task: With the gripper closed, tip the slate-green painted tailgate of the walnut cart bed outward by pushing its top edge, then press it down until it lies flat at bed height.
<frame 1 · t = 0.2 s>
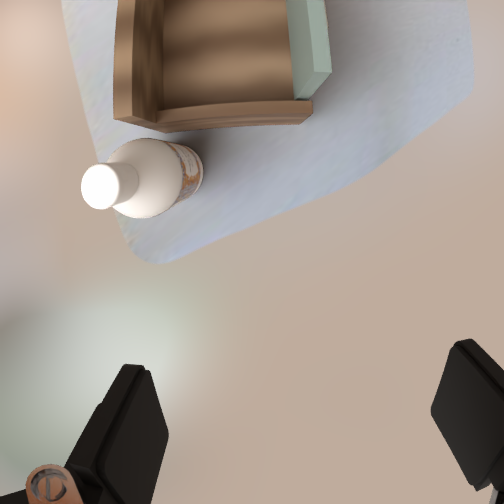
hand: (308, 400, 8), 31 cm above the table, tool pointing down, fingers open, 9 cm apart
bath foam: (176, 172, 37), on the table
tailgate: (305, 14, 21), point 12 cm above the table, hinge at 0.0°
cart bed: (228, 57, 33), on the table
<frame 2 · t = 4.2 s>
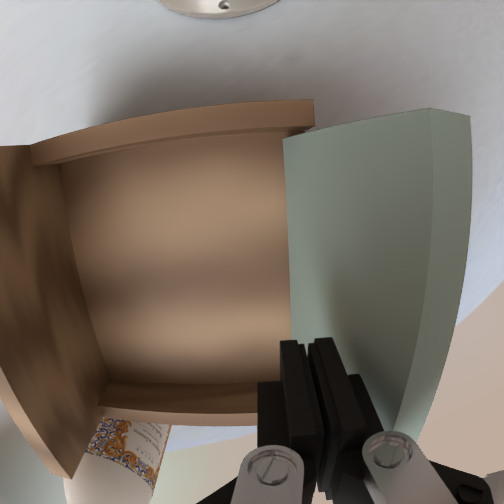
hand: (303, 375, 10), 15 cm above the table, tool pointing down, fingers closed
bath foam: (145, 389, 28), on the table
tailgate: (346, 321, 12), point 12 cm above the table, hinge at 9.5°, touching gripper
cart bed: (190, 251, 24), on the table
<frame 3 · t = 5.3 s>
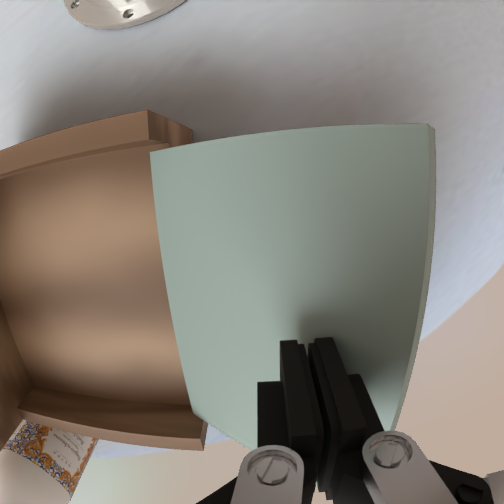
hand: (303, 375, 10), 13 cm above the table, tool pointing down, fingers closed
bath foam: (82, 396, 27), on the table
tailgate: (271, 334, 12), point 10 cm above the table, hinge at 49.8°, touching gripper
cart bed: (102, 266, 22), on the table
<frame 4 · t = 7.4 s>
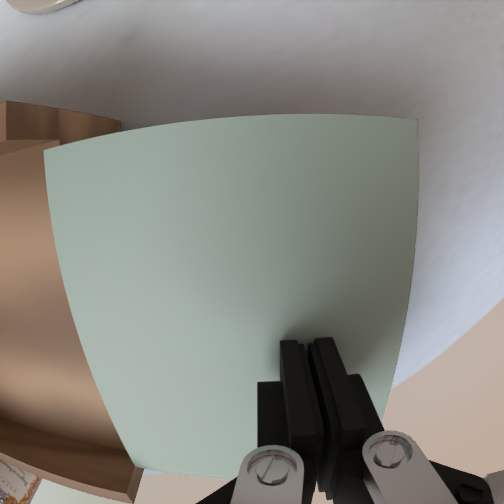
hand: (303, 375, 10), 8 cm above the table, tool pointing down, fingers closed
bath foam: (36, 415, 22), on the table
tailgate: (232, 349, 11), point 7 cm above the table, hinge at 85.9°, touching gripper
cart bed: (35, 282, 17), on the table
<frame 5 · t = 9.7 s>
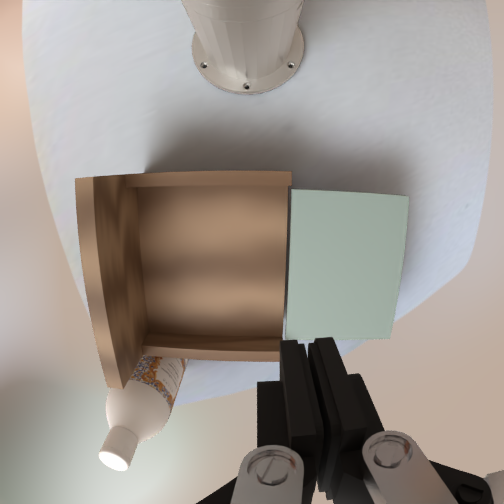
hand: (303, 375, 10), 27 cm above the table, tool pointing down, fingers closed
bath foam: (164, 349, 40), on the table
tailgate: (346, 268, 30), point 7 cm above the table, hinge at 86.1°
cart bed: (211, 249, 37), on the table
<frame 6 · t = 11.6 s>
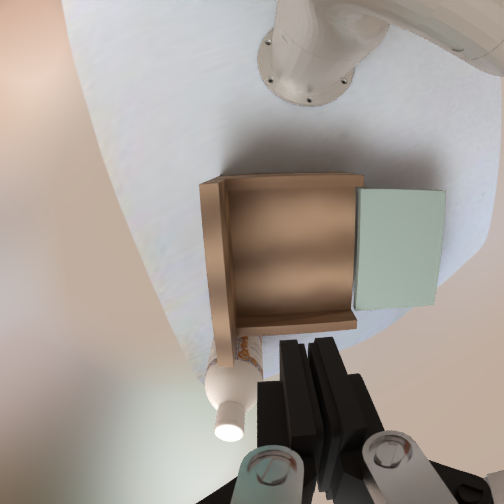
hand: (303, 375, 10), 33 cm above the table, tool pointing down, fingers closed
bath foam: (238, 333, 47), on the table
tailgate: (400, 249, 36), point 7 cm above the table, hinge at 86.1°
cart bed: (283, 240, 42), on the table
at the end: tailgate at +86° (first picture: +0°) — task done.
